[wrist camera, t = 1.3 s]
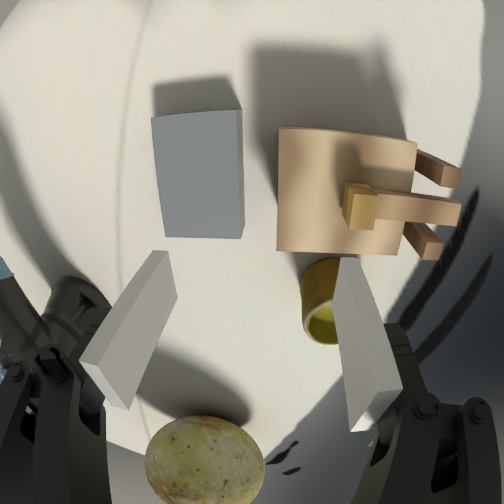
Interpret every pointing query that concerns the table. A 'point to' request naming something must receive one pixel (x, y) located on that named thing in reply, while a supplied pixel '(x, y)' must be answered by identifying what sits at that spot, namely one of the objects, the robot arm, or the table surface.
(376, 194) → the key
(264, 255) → the table surface
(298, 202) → the lid
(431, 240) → the toolbox
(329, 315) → the mug
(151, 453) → the speckled ball
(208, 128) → the block
